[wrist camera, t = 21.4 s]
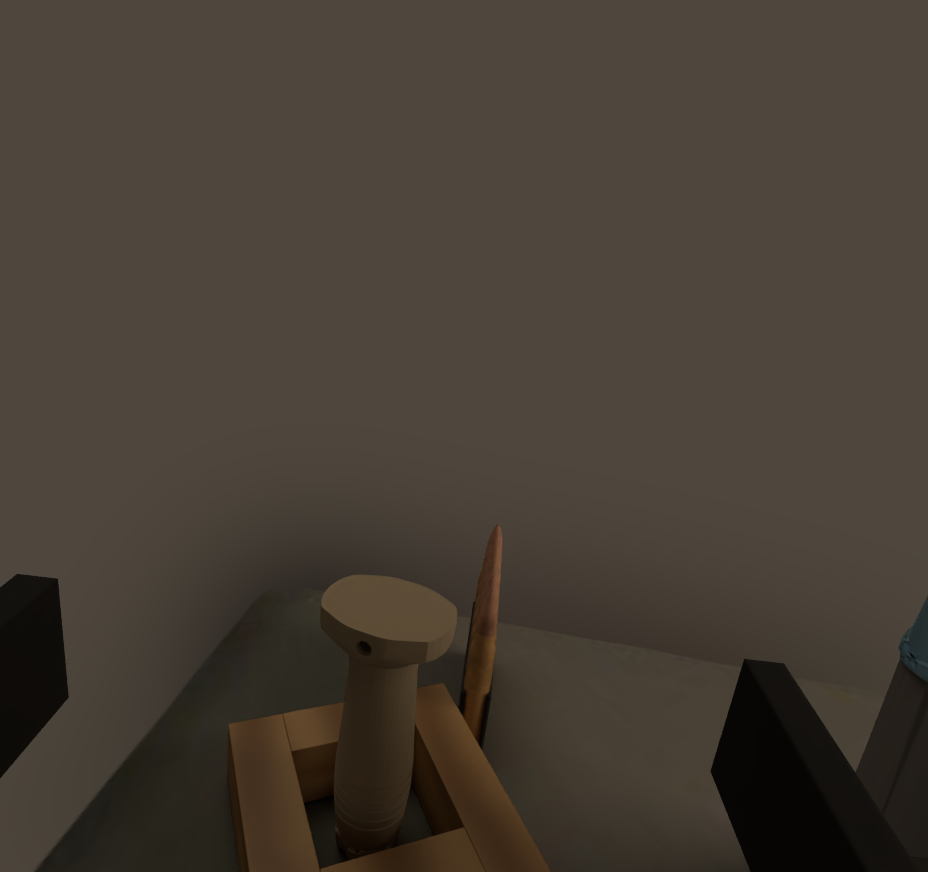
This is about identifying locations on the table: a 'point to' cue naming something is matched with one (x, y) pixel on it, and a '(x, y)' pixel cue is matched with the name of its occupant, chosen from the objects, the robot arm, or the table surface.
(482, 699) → the ammunition clip
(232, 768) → the rack
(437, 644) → the handle
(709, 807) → the table surface
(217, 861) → the table surface
